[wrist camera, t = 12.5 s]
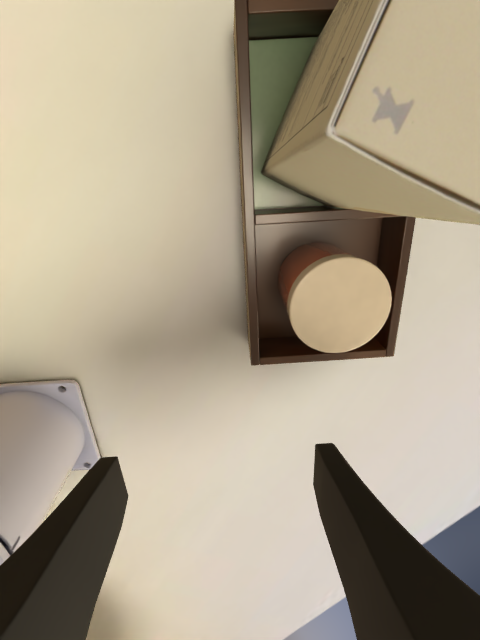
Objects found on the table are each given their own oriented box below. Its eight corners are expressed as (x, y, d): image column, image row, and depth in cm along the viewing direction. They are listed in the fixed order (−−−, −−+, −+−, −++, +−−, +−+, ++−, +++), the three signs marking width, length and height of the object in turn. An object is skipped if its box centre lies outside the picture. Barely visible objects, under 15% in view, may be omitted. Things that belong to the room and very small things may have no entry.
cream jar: (275, 318, 20) (289, 356, 16) (274, 242, 18) (290, 260, 14) (350, 314, 20) (385, 350, 16) (357, 237, 18) (399, 254, 14)
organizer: (248, 342, 21) (251, 365, 18) (233, 32, 15) (234, -3, 12) (372, 334, 21) (394, 356, 19) (411, 23, 15) (453, -14, 12)
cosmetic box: (329, 208, 17) (512, 249, 6) (255, 172, 17) (313, 145, 5) (394, 80, 15) (860, -213, 4) (313, 32, 14) (616, -513, 3)
